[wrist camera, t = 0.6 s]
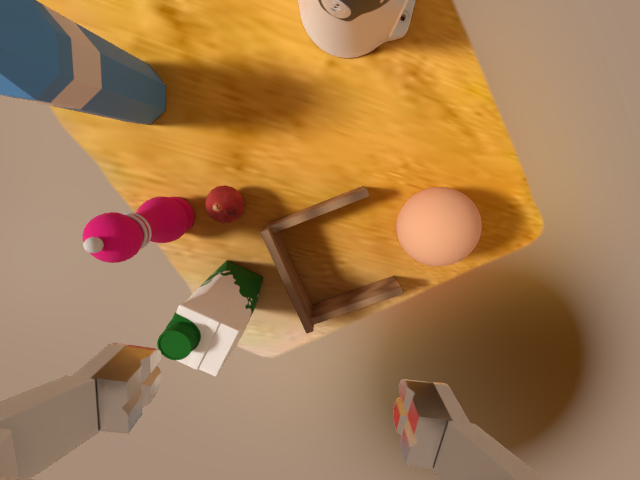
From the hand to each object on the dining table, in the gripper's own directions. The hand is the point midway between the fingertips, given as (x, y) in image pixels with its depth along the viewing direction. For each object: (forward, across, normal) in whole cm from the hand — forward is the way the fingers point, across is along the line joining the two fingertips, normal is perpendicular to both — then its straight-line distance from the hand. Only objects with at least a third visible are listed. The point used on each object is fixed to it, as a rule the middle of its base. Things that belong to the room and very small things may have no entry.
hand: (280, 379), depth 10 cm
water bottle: (+42, +29, -13) cm, 53 cm away
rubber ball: (+36, -19, 0) cm, 40 cm away
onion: (+42, +14, +1) cm, 44 cm away
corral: (+42, -5, +8) cm, 43 cm away
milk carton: (+42, +12, +16) cm, 46 cm away
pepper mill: (+42, +23, +5) cm, 48 cm away
